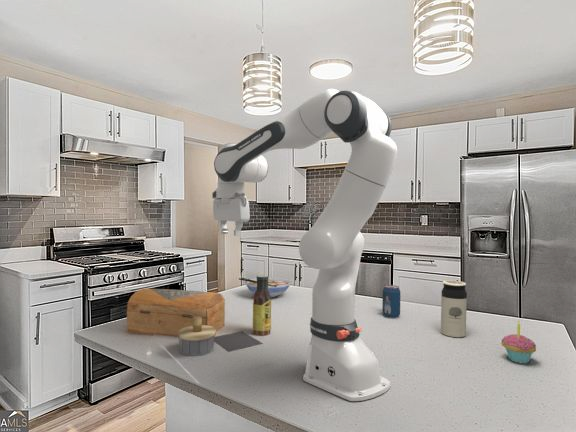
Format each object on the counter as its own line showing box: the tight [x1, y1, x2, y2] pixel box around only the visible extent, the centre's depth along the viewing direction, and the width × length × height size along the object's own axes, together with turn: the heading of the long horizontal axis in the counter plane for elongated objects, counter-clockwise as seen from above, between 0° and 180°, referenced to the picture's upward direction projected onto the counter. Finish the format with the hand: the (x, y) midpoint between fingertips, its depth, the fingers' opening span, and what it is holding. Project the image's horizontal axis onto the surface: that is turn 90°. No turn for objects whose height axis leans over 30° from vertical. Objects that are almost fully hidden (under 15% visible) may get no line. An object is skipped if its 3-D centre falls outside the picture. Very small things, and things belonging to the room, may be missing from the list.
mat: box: [214, 330, 264, 353], centre depth 120 cm, size 14×12×1 cm
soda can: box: [381, 284, 401, 319], centre depth 150 cm, size 7×7×12 cm
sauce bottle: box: [252, 274, 272, 337], centre depth 128 cm, size 6×6×20 cm
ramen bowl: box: [238, 276, 292, 299], centre depth 181 cm, size 25×23×8 cm
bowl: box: [178, 336, 215, 357], centre depth 112 cm, size 10×10×5 cm
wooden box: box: [126, 288, 226, 338], centre depth 132 cm, size 30×16×14 cm, turn 76°
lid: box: [178, 316, 217, 341], centre depth 112 cm, size 11×11×5 cm
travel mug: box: [440, 280, 468, 339], centre depth 129 cm, size 8×8×18 cm
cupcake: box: [500, 320, 537, 364], centre depth 107 cm, size 9×8×12 cm
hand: (230, 234), depth 125 cm, fingers open, 8 cm apart
